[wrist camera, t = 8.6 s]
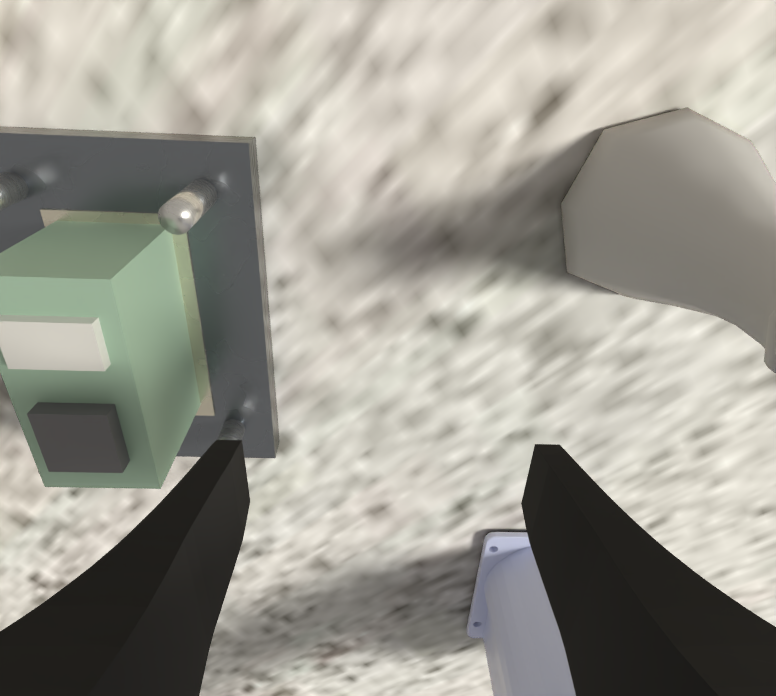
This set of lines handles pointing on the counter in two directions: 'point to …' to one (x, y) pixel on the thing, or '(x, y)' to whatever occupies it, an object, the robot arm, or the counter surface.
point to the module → (97, 352)
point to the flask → (678, 221)
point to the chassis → (191, 243)
